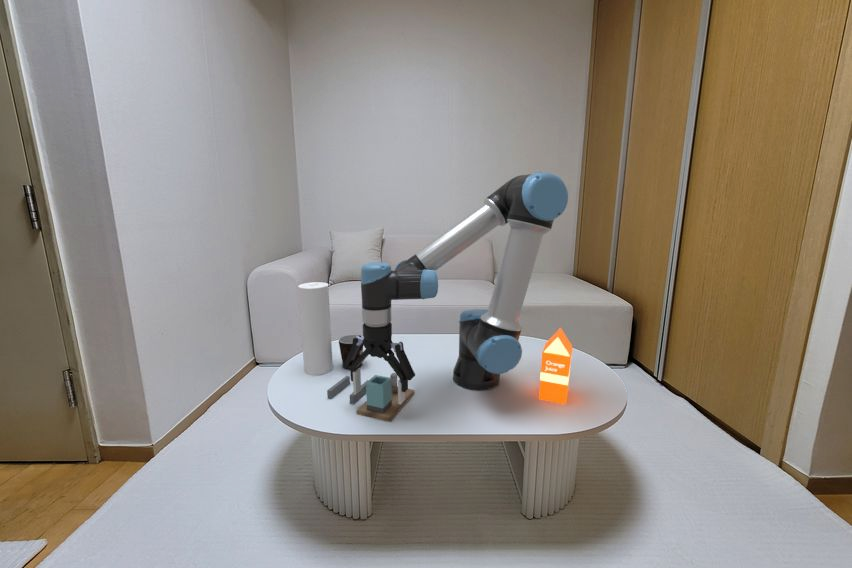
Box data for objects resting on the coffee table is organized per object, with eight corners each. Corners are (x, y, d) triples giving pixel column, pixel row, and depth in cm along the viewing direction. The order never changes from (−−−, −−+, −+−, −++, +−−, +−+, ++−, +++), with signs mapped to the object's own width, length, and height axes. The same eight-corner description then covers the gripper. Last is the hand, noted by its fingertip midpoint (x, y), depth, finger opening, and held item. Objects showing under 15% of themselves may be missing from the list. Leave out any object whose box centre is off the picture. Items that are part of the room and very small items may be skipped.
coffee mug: (352, 358, 136) (351, 332, 134) (370, 364, 131) (369, 338, 129) (327, 370, 127) (326, 342, 125) (345, 377, 122) (343, 348, 120)
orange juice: (538, 399, 109) (543, 334, 105) (542, 385, 117) (546, 325, 113) (566, 404, 106) (572, 338, 102) (568, 390, 114) (574, 328, 110)
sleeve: (383, 413, 99) (382, 386, 97) (366, 410, 101) (366, 382, 99) (391, 404, 104) (391, 378, 102) (375, 401, 105) (375, 374, 104)
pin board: (414, 393, 112) (414, 371, 110) (389, 422, 97) (389, 396, 96) (384, 387, 116) (384, 365, 114) (356, 414, 101) (355, 389, 99)
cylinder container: (315, 377, 122) (309, 288, 115) (298, 370, 127) (292, 284, 121) (338, 367, 129) (334, 283, 122) (321, 361, 134) (316, 279, 128)
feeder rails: (371, 388, 115) (370, 380, 114) (353, 404, 106) (353, 396, 105) (346, 383, 118) (346, 375, 118) (327, 398, 109) (327, 390, 109)
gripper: (427, 324, 96) (426, 399, 100) (344, 313, 105) (347, 382, 109) (415, 333, 89) (415, 413, 94) (328, 320, 98) (332, 394, 102)
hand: (379, 397), depth 101 cm, fingers open, 13 cm apart
